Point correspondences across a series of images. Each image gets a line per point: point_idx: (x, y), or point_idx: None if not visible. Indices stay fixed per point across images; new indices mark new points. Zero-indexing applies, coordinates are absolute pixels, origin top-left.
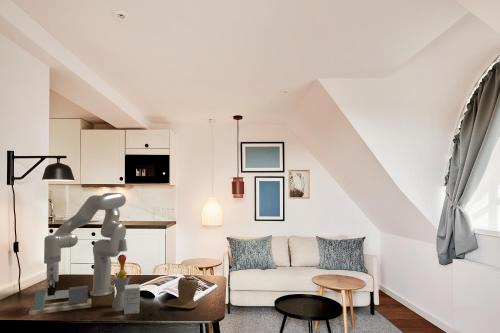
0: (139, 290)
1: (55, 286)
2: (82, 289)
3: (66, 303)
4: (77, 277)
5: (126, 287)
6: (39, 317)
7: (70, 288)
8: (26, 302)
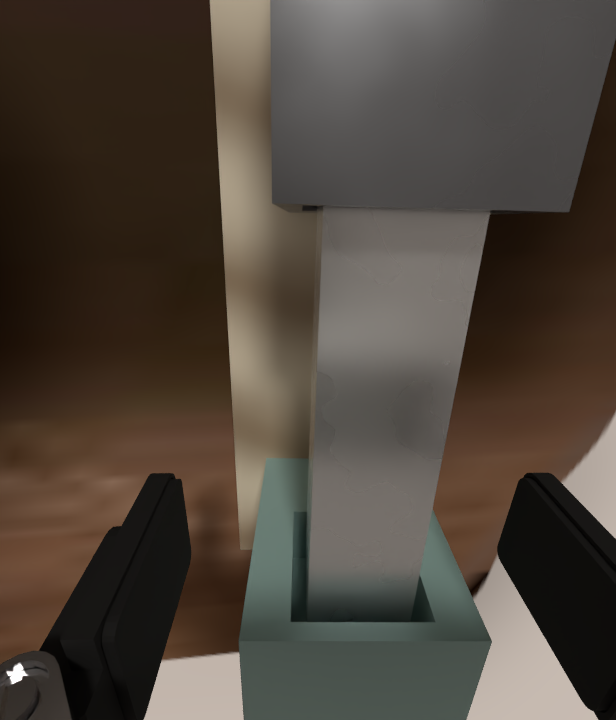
0: None
1: (159, 532)
2: None
3: (311, 238)
4: None
5: None
6: (531, 457)
7: (432, 162)
8: (29, 571)
